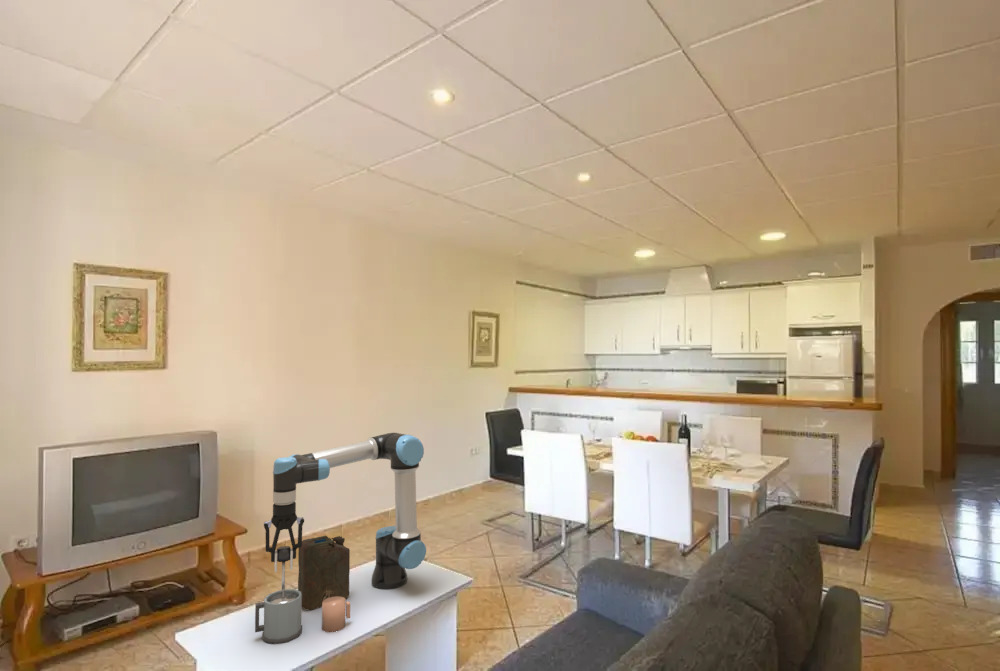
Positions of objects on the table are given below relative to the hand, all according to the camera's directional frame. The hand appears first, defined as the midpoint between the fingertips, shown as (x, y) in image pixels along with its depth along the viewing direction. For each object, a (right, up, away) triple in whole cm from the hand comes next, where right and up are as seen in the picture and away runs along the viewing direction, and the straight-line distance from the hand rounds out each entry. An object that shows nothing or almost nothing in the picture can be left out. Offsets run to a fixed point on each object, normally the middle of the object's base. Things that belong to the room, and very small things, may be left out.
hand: (283, 569), depth 187 cm
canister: (+6, -24, +24) cm, 34 cm away
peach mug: (+16, -23, +4) cm, 28 cm away
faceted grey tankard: (-1, -22, -2) cm, 23 cm away
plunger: (0, -11, -1) cm, 11 cm away
